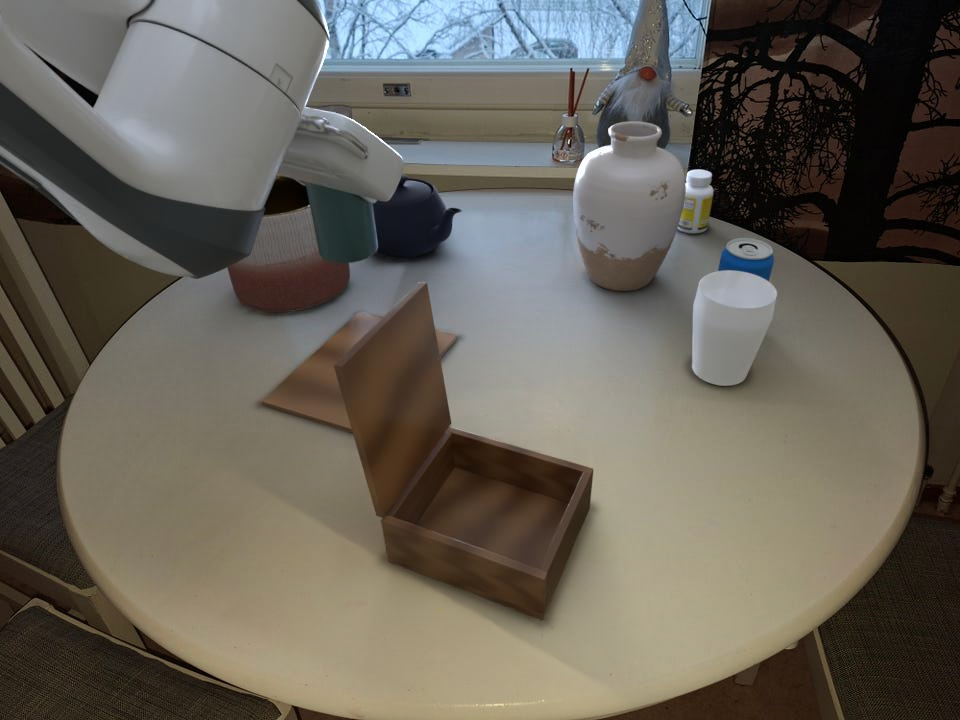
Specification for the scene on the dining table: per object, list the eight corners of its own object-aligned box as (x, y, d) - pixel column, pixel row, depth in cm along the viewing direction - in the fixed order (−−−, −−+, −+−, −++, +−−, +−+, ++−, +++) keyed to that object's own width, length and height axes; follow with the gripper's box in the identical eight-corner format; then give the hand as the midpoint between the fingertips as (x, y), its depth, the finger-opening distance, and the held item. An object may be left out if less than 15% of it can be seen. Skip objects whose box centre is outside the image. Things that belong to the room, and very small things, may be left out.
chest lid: (427, 282, 61) (419, 281, 61) (341, 367, 51) (333, 365, 51) (451, 423, 70) (445, 421, 70) (383, 518, 60) (376, 516, 61)
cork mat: (373, 439, 78) (372, 435, 77) (262, 404, 83) (261, 401, 83) (457, 338, 94) (457, 334, 93) (359, 314, 99) (359, 311, 99)
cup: (678, 348, 90) (692, 268, 83) (749, 351, 89) (770, 271, 82) (686, 390, 83) (702, 307, 76) (762, 395, 82) (786, 311, 75)
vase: (550, 284, 104) (556, 136, 91) (595, 243, 115) (606, 105, 101) (648, 313, 97) (669, 156, 84) (686, 266, 108) (711, 121, 94)
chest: (589, 508, 68) (593, 468, 65) (542, 620, 59) (544, 579, 55) (451, 465, 74) (448, 426, 70) (387, 561, 64) (380, 520, 61)
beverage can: (752, 314, 96) (771, 237, 89) (759, 340, 91) (780, 261, 84) (705, 311, 97) (720, 235, 90) (709, 337, 92) (725, 258, 85)
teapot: (327, 242, 119) (315, 174, 111) (392, 212, 128) (384, 148, 121) (430, 286, 105) (424, 212, 98) (494, 249, 114) (493, 179, 107)
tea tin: (357, 268, 62) (338, 149, 55) (305, 257, 64) (281, 141, 57) (390, 241, 66) (376, 127, 59) (340, 231, 68) (321, 120, 61)
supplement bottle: (704, 221, 121) (714, 167, 115) (709, 234, 116) (719, 180, 110) (673, 220, 121) (681, 167, 115) (676, 234, 117) (685, 179, 111)
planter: (279, 253, 116) (258, 163, 106) (371, 269, 110) (358, 175, 101) (211, 306, 102) (181, 208, 93) (312, 326, 97) (290, 225, 88)
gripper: (355, 82, 45) (449, 175, 57) (160, 51, 54) (277, 137, 66) (319, 170, 44) (421, 244, 57) (130, 124, 54) (253, 197, 66)
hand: (342, 186), depth 61 cm, fingers closed on tea tin, 5 cm apart
